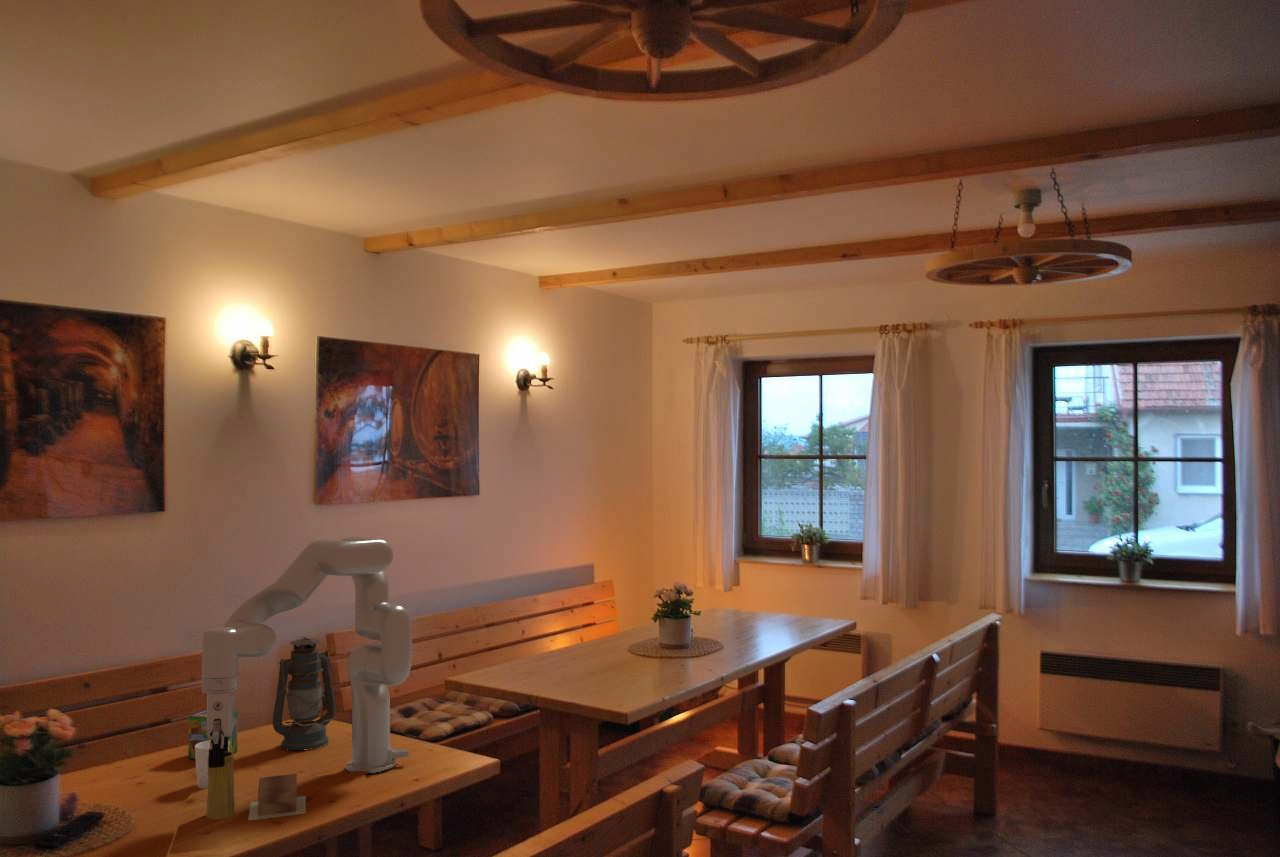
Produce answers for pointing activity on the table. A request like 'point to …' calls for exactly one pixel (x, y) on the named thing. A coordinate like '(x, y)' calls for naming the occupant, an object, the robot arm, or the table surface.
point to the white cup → (202, 763)
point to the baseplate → (299, 810)
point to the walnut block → (277, 794)
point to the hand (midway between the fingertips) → (218, 760)
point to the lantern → (305, 696)
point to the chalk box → (200, 732)
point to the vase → (221, 790)
